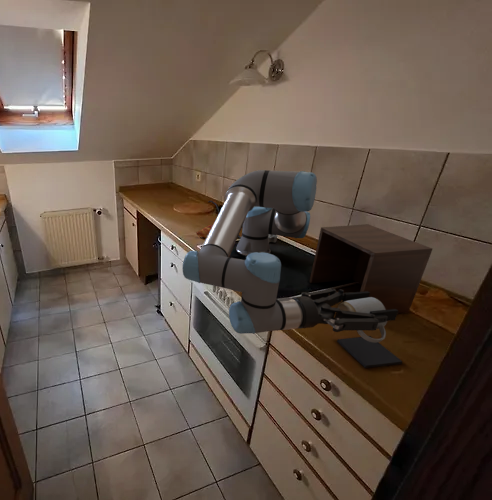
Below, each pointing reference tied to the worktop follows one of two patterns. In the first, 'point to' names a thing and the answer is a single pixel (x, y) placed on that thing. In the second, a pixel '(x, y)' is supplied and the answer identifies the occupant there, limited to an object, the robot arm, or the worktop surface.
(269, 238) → the egg carton
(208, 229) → the croissant
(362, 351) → the mat
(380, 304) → the ceramic mug
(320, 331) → the worktop surface
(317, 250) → the cupboard
